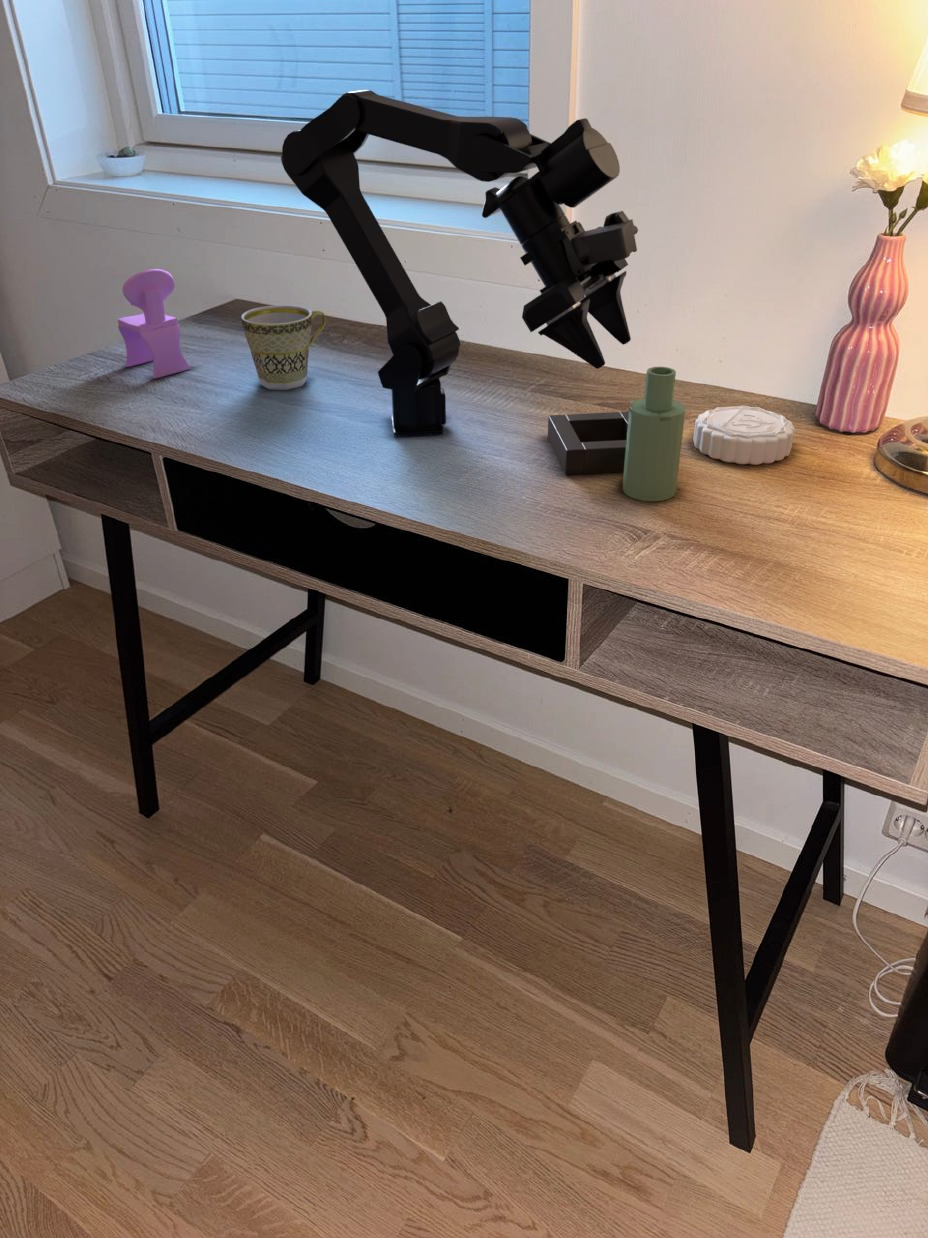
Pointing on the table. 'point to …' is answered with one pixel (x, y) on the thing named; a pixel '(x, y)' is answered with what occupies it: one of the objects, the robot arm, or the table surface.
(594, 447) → the holder
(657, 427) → the vase
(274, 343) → the ceramic cup
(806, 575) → the table surface
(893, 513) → the table surface
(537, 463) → the table surface
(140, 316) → the toy chair
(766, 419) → the mooncake
